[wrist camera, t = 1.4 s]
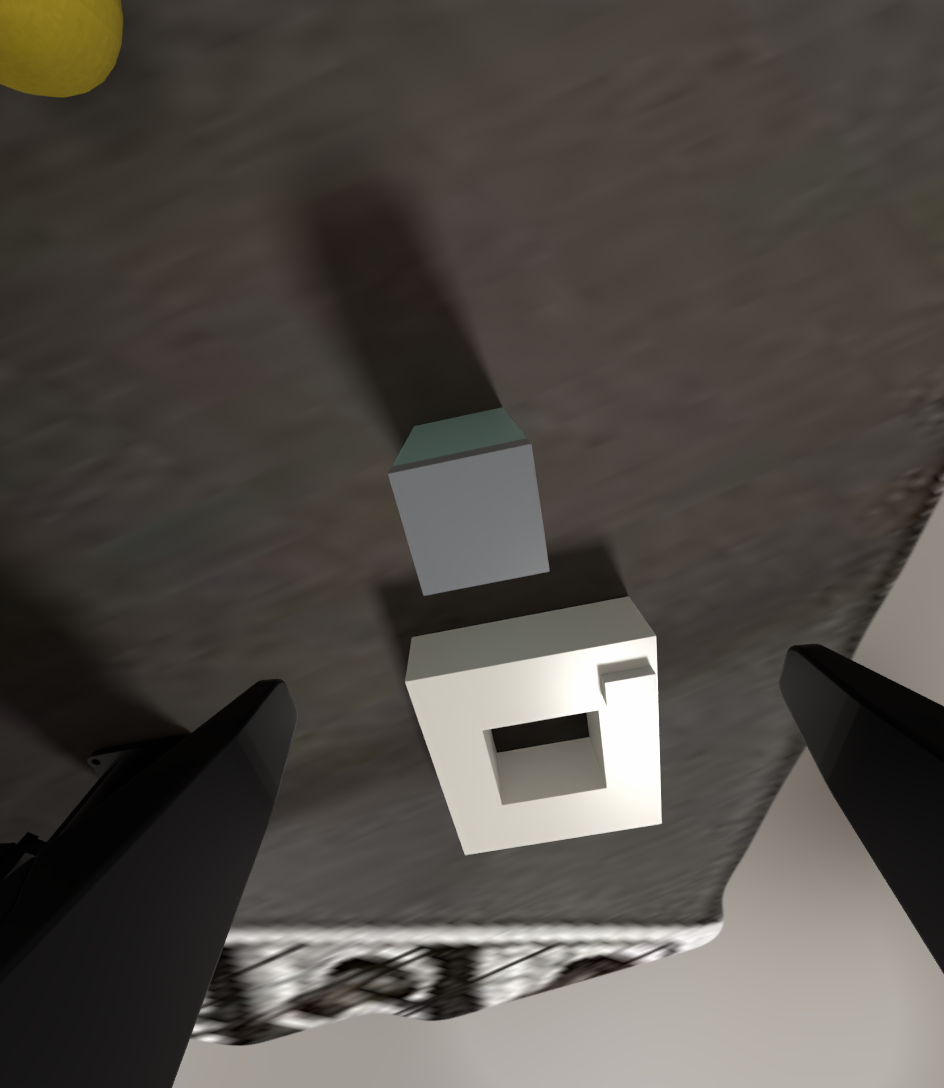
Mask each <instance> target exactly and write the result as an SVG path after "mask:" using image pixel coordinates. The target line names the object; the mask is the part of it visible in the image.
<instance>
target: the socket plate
mask: <svg viewBox="0 0 944 1088" xmlns="http://www.w3.org/2000/svg"><path fill="white" fill-rule="evenodd" d="M405 684H406V686H407V689H408V692H409V695H410V698H411V701H412V704H413V707H414V709H415V712H416V715H417V718H418V721H419V724H420V727H421V730H422V732H423V735H424V738H425V741H426V744H427V747H428V750H429V753H430V755H431V758H432V761H433V764H434V767H435V770H436V773H437V776H438V778H439V781H440V784H441V787H442V790H443V793H444V796H445V799H446V802H447V804H448V807H449V810H450V813H451V816H452V819H453V822H454V825H455V827H456V830H457V833H458V836H459V839H460V842H461V845H462V848H463V850H464V853H465V855H469V854H475V853H481V852H488V851H494V850H500V849H506V848H513V847H519V846H525V845H531V844H538V843H544V842H550V841H556V840H563V839H569V838H575V837H581V836H588V835H594V834H600V833H606V832H613V831H619V830H625V829H631V828H638V827H644V826H650V825H656V824H662V820H661V786H660V751H659V716H658V681H657V646H656V635H655V633H654V632H653V631H652V629H651V628H650V626H649V625H648V623H647V622H646V621H645V619H644V618H643V616H642V615H641V613H640V612H639V610H638V609H637V608H636V606H635V605H634V603H633V602H632V600H631V599H630V598H629V596H628V597H623V598H617V599H612V600H607V601H601V602H596V603H591V604H585V605H580V606H575V607H570V608H564V609H559V610H554V611H548V612H543V613H538V614H532V615H527V616H522V617H517V618H511V619H506V620H501V621H495V622H490V623H485V624H479V625H474V626H469V627H464V628H458V629H453V630H448V631H442V632H437V633H432V634H426V635H421V636H416V637H412V639H411V646H410V652H409V659H408V665H407V672H406V678H405ZM585 712H586V713H587V721H588V730H589V737H586V738H581V739H575V740H569V741H563V742H557V743H551V744H546V745H540V746H534V747H528V748H522V749H517V750H511V751H505V752H499V753H497V751H496V747H495V743H494V740H493V736H492V732H491V729H494V728H500V727H505V726H511V725H517V724H523V723H528V722H534V721H540V720H545V719H551V718H557V717H563V716H568V715H574V714H580V713H585Z"/></svg>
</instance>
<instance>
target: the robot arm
mask: <svg viewBox="0 0 944 1088" xmlns="http://www.w3.org/2000/svg"><path fill="white" fill-rule="evenodd" d="M779 688H780V692H781V694H782V697H783V699H784V701H785V703H786V705H787V707H788V709H789V711H790V713H791V715H792V717H793V719H794V721H795V723H796V725H797V727H798V729H799V731H800V733H801V735H802V737H803V739H804V741H805V743H806V745H807V747H808V749H809V751H810V753H811V755H812V757H813V759H814V761H815V763H816V765H817V767H818V769H819V771H820V773H821V775H822V777H823V779H824V781H825V782H826V784H827V786H828V788H829V789H830V791H831V793H832V795H833V796H834V798H835V800H836V801H837V802H838V804H839V806H840V808H841V809H842V811H843V812H844V814H845V816H846V817H847V819H848V821H849V822H850V824H851V825H852V827H853V829H854V830H855V832H856V833H857V835H858V837H859V838H860V840H861V841H862V843H863V845H864V846H865V848H866V850H867V851H868V853H869V854H870V856H871V858H872V859H873V861H874V862H875V864H876V866H877V867H878V869H879V870H880V872H881V874H882V875H883V877H884V879H885V880H886V882H887V883H888V885H889V886H890V888H891V890H892V891H893V893H894V895H895V896H896V898H897V899H898V901H899V903H900V904H901V906H902V907H903V909H904V911H905V912H906V914H907V916H908V917H909V919H910V920H911V922H912V924H913V925H914V927H915V928H916V930H917V931H918V933H919V935H920V936H921V938H922V940H923V941H924V943H925V944H926V946H927V948H928V949H929V951H930V952H931V954H932V956H933V957H934V959H935V961H936V962H937V964H938V965H939V967H940V969H941V970H942V972H943V974H944V706H942V705H940V704H938V703H936V702H934V701H932V700H930V699H928V698H926V697H924V696H922V695H920V694H918V693H916V692H914V691H912V690H910V689H908V688H906V687H904V686H902V685H900V684H898V683H896V682H894V681H892V680H890V679H888V678H886V677H884V676H882V675H880V674H878V673H876V672H874V671H872V670H870V669H868V668H866V667H864V666H862V665H860V664H858V663H856V662H854V661H852V660H850V659H848V658H846V657H844V656H842V655H840V654H838V653H836V652H834V651H832V650H830V649H828V648H826V647H824V646H822V645H819V644H806V645H794V646H791V647H790V648H789V649H788V651H787V654H786V658H785V661H784V665H783V668H782V672H781V675H780V679H779ZM297 717H298V715H297V708H296V706H295V703H294V701H293V699H292V697H291V695H290V692H289V690H288V688H287V686H286V684H285V682H284V681H283V680H281V679H269V680H261V681H258V682H257V683H255V684H254V685H253V686H251V687H250V688H249V689H248V690H246V691H245V692H244V693H242V694H241V695H240V696H239V697H237V698H236V699H235V700H233V701H232V702H231V703H230V704H228V705H227V706H226V707H224V708H223V709H222V710H221V711H219V712H218V713H217V714H215V715H214V716H213V717H212V718H210V719H209V720H208V721H206V722H205V723H204V724H203V725H201V726H200V727H199V728H197V729H196V730H195V731H194V732H192V733H191V734H190V735H188V736H186V735H181V736H176V737H170V738H165V739H159V740H154V741H148V742H143V743H137V744H132V745H126V746H121V747H115V748H110V749H104V750H99V751H95V752H93V753H92V755H91V756H90V757H89V758H88V759H87V762H88V764H89V765H90V766H91V767H92V768H93V770H94V771H95V772H96V773H97V774H98V776H99V777H100V779H99V780H98V781H97V782H96V783H95V785H94V786H93V787H92V788H91V789H90V791H89V792H88V793H87V794H86V795H85V797H84V798H83V799H82V800H81V802H80V803H79V804H78V805H77V806H76V808H75V809H74V810H73V811H72V812H71V814H70V815H69V816H68V817H67V818H66V820H65V821H64V822H63V823H62V824H61V826H60V827H59V828H58V829H57V830H56V832H55V833H54V834H53V835H52V836H51V838H50V839H49V840H48V841H47V842H44V841H42V840H39V839H37V838H38V837H39V836H36V835H34V834H32V833H29V832H27V833H26V834H25V836H24V837H23V838H22V839H21V840H20V841H19V842H18V843H17V844H16V843H13V842H12V843H2V844H0V1088H172V1086H173V1083H174V1081H175V1078H176V1075H177V1072H178V1070H179V1067H180V1064H181V1061H182V1059H183V1056H184V1053H185V1050H186V1048H187V1045H188V1042H189V1039H190V1037H191V1034H192V1031H193V1028H194V1026H195V1023H196V1020H197V1018H198V1015H199V1012H200V1009H201V1007H202V1004H203V1001H204V998H205V996H206V993H207V990H208V987H209V985H210V982H211V979H212V976H213V974H214V971H215V968H216V965H217V963H218V960H219V957H220V955H221V952H222V949H223V946H224V944H225V941H226V938H227V935H228V933H229V930H230V927H231V924H232V922H233V919H234V916H235V913H236V911H237V908H238V905H239V902H240V900H241V897H242V894H243V891H244V889H245V886H246V883H247V881H248V878H249V875H250V872H251V870H252V867H253V864H254V861H255V859H256V856H257V853H258V850H259V848H260V845H261V842H262V839H263V837H264V834H265V831H266V828H267V826H268V823H269V820H270V817H271V815H272V812H273V809H274V806H275V803H276V799H277V796H278V792H279V789H280V785H281V781H282V777H283V773H284V770H285V766H286V762H287V758H288V754H289V750H290V746H291V743H292V739H293V735H294V731H295V727H296V723H297Z"/></svg>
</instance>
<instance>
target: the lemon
mask: <svg viewBox="0 0 944 1088" xmlns="http://www.w3.org/2000/svg"><path fill="white" fill-rule="evenodd" d="M122 32H123V14H122V6H121V0H0V84H2V85H4V86H7V87H9V88H12V89H15V90H18V91H21V92H24V93H28V94H33V95H41V96H50V97H69V96H74V95H78V94H83V93H86V92H89V91H90V90H92V89H93V88H95V87H96V86H98V85H99V84H101V83H102V82H104V81H105V79H106V78H107V76H108V75H109V73H110V72H111V71H112V69H113V68H114V66H115V64H116V61H117V58H118V54H119V51H120V48H121V45H122Z"/></svg>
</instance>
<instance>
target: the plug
mask: <svg viewBox="0 0 944 1088" xmlns="http://www.w3.org/2000/svg"><path fill="white" fill-rule="evenodd" d="M388 476H389V479H390V482H391V486H392V489H393V493H394V496H395V500H396V503H397V506H398V510H399V513H400V517H401V520H402V524H403V527H404V530H405V534H406V537H407V541H408V544H409V547H410V551H411V554H412V558H413V561H414V565H415V568H416V571H417V575H418V578H419V582H420V585H421V589H422V592H423V595H424V596H426V595H431V594H436V593H441V592H447V591H452V590H457V589H462V588H467V587H472V586H477V585H483V584H488V583H493V582H498V581H503V580H508V579H514V578H519V577H524V576H529V575H534V574H539V573H545V572H550V569H549V563H548V556H547V549H546V542H545V535H544V528H543V521H542V514H541V507H540V500H539V493H538V486H537V480H536V473H535V466H534V459H533V452H532V445H531V443H530V441H529V440H528V439H527V438H526V436H525V435H524V434H523V433H522V431H521V430H520V429H519V428H518V426H517V425H516V424H515V423H514V421H513V420H512V419H511V417H510V416H509V415H508V414H507V412H506V411H505V410H504V409H503V407H501V408H497V409H492V410H487V411H483V412H478V413H473V414H469V415H464V416H460V417H455V418H450V419H446V420H441V421H436V422H432V423H427V424H422V425H418V426H414V427H413V429H412V431H411V433H410V435H409V436H408V438H407V440H406V442H405V444H404V446H403V447H402V449H401V451H400V453H399V455H398V457H397V458H396V460H395V462H394V464H393V466H392V468H391V469H390V471H389V473H388Z"/></svg>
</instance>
